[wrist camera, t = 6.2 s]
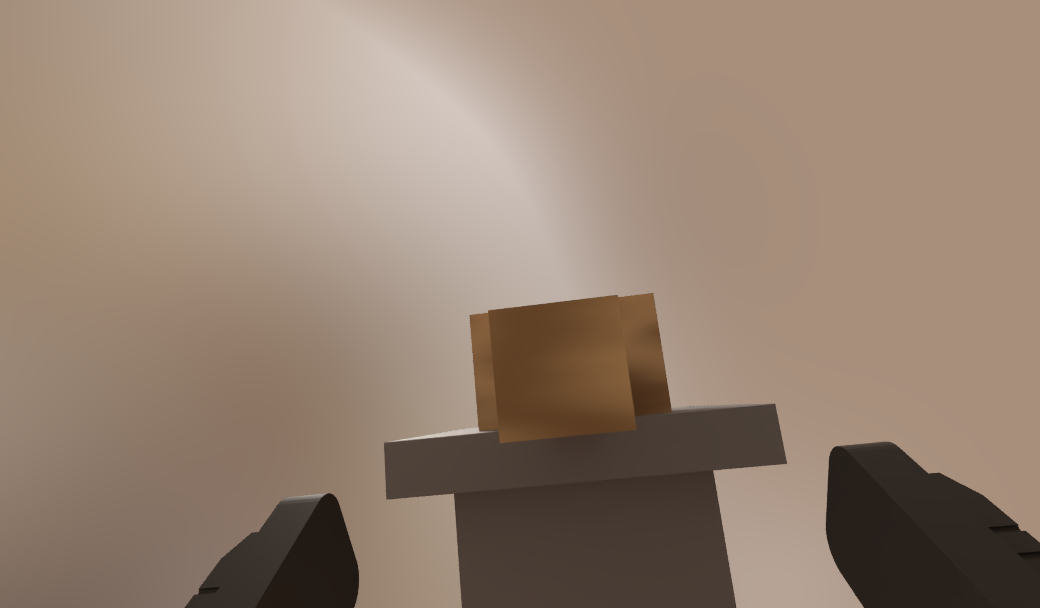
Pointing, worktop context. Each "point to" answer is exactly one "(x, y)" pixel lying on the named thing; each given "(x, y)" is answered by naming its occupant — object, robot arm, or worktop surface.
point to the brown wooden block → (568, 367)
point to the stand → (592, 508)
